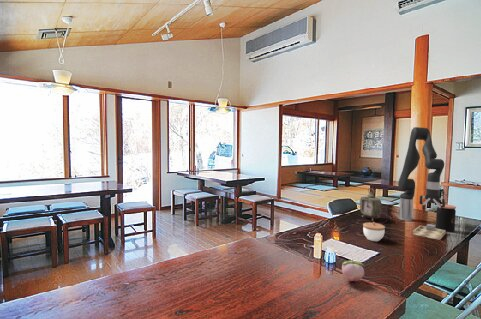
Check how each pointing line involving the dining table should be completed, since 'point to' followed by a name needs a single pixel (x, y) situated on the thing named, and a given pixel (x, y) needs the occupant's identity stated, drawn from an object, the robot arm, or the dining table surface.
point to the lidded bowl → (373, 231)
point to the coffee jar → (446, 218)
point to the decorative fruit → (352, 270)
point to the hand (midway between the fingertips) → (431, 211)
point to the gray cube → (431, 227)
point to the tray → (429, 232)
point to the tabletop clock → (370, 205)
